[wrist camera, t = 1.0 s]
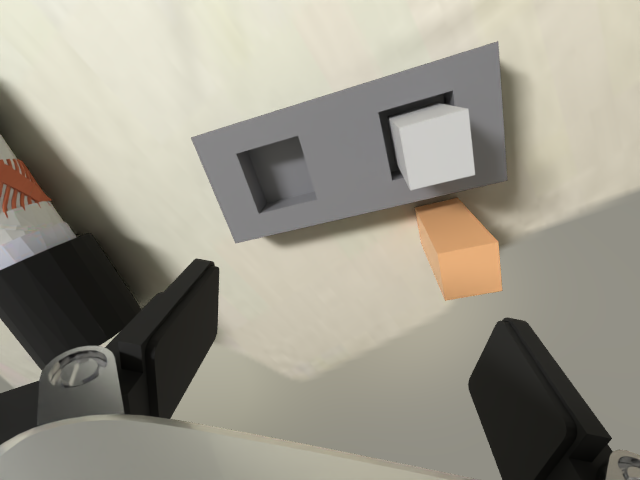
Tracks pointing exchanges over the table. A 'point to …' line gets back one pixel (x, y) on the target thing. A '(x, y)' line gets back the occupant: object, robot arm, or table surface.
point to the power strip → (362, 148)
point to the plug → (459, 250)
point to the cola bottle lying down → (52, 273)
